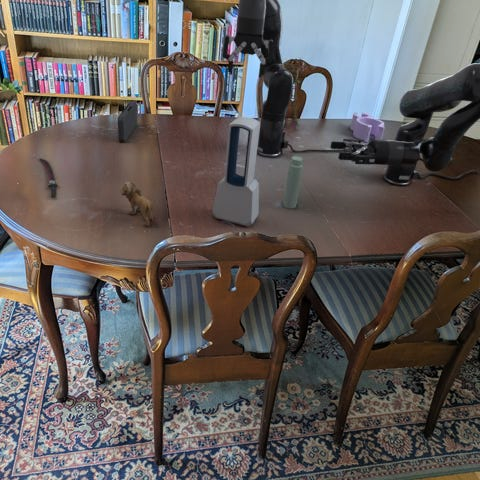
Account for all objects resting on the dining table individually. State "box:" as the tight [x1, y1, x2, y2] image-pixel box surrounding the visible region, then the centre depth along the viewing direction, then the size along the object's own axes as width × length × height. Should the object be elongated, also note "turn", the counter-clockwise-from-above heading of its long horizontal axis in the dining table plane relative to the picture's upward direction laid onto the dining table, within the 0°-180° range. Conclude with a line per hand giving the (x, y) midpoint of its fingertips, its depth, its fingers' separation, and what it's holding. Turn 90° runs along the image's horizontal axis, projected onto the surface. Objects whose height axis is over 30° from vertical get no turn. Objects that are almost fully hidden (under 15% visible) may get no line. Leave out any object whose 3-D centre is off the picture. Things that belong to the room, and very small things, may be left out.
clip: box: [349, 112, 386, 143], centre depth 214 cm, size 20×12×7 cm, turn 11°
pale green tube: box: [282, 155, 304, 210], centre depth 146 cm, size 4×4×16 cm
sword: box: [40, 158, 59, 198], centre depth 151 cm, size 31×3×1 cm, turn 26°
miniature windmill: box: [285, 57, 302, 131], centre depth 208 cm, size 9×8×30 cm
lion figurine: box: [119, 181, 159, 227], centre depth 134 cm, size 15×5×9 cm, turn 50°
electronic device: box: [211, 116, 261, 227], centre depth 132 cm, size 12×8×30 cm, turn 71°
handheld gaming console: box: [117, 100, 138, 142], centre depth 188 cm, size 23×3×10 cm, turn 178°
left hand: (245, 75), depth 137 cm, fingers open, 8 cm apart
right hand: (335, 150), depth 142 cm, fingers open, 8 cm apart
